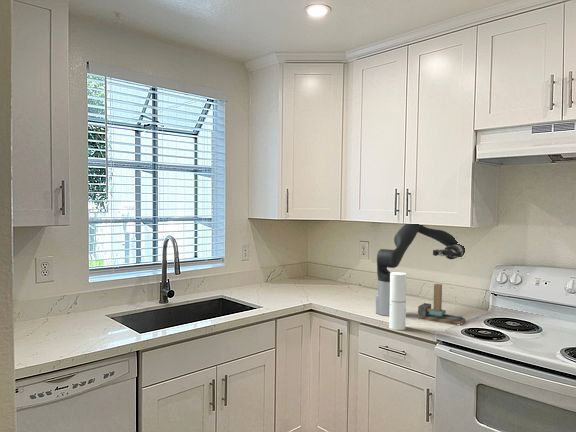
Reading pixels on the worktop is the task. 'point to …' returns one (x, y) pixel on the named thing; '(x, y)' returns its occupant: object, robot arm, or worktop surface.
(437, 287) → the post
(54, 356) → the worktop surface
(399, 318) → the cylindrical container
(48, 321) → the worktop surface
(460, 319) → the rail bed
